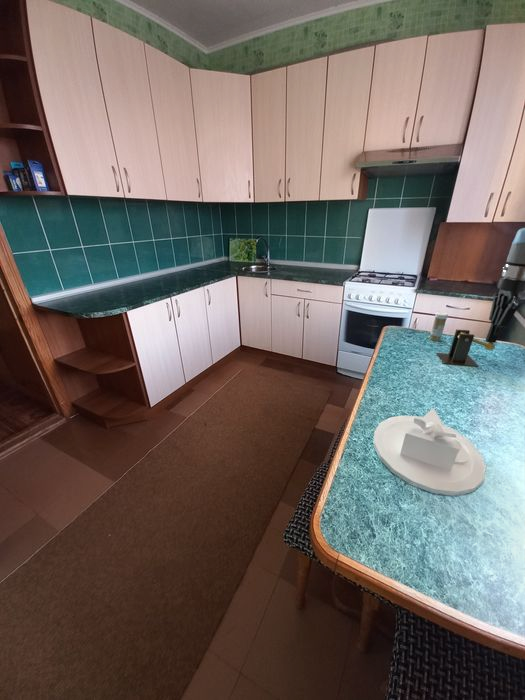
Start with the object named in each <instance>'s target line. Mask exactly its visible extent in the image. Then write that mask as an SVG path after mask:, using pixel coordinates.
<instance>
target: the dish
mask: <svg viewBox="0 0 525 700" xmlns="http://www.w3.org/2000/svg"><path fill="white" fill-rule="evenodd" d="M372 446H373V448H374V450H375V453H376V455H377V457H378V459H379V460H380V462H382V464H384V466H385V467H386V468H387V469H388V470H389V471H390V472H391V473H392V474H393V475H395V476H397V477H398V478H399V479H401V480H403V481H404V482H406V483H407V484H409V485H410V486H412V487H415V488H418V489H420V490H423V491H426V492H428V493H431V494H436V495H445V496H452V497H453V496H454V497H456V496H461V495H466V494H470V493H473V492H474V491H475V490H476V489H477V488H479V487H480V486H481V485H482V484H483V483H484V481H485V477H486V476H485V475H486V470H487V465H486V462H485V460H484V457H483V455H482V453H481V452H480V451H479V449H477V447H476V446H475V445H474V444H473V443H472V441H470V439H468V438H467V437H466V436H464V435H463V434H461V433H460V432H458V431H457V430H455V428H452V427H450V426H448V425H445V424H444V423H443V421H442V419H441V418H440V416H439V415H438V413H437V411H436V410H435V408H434V407H433V408H431V409H430V410H429V411H428V412H426V413H425V415H423V416H418V415H403V414H402V415H397V416H391V417H388V418H386V419H384V420H383V421H380V422H379V423H378V425H377V426H376V428H375V429H374V431H373V445H372Z"/></svg>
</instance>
